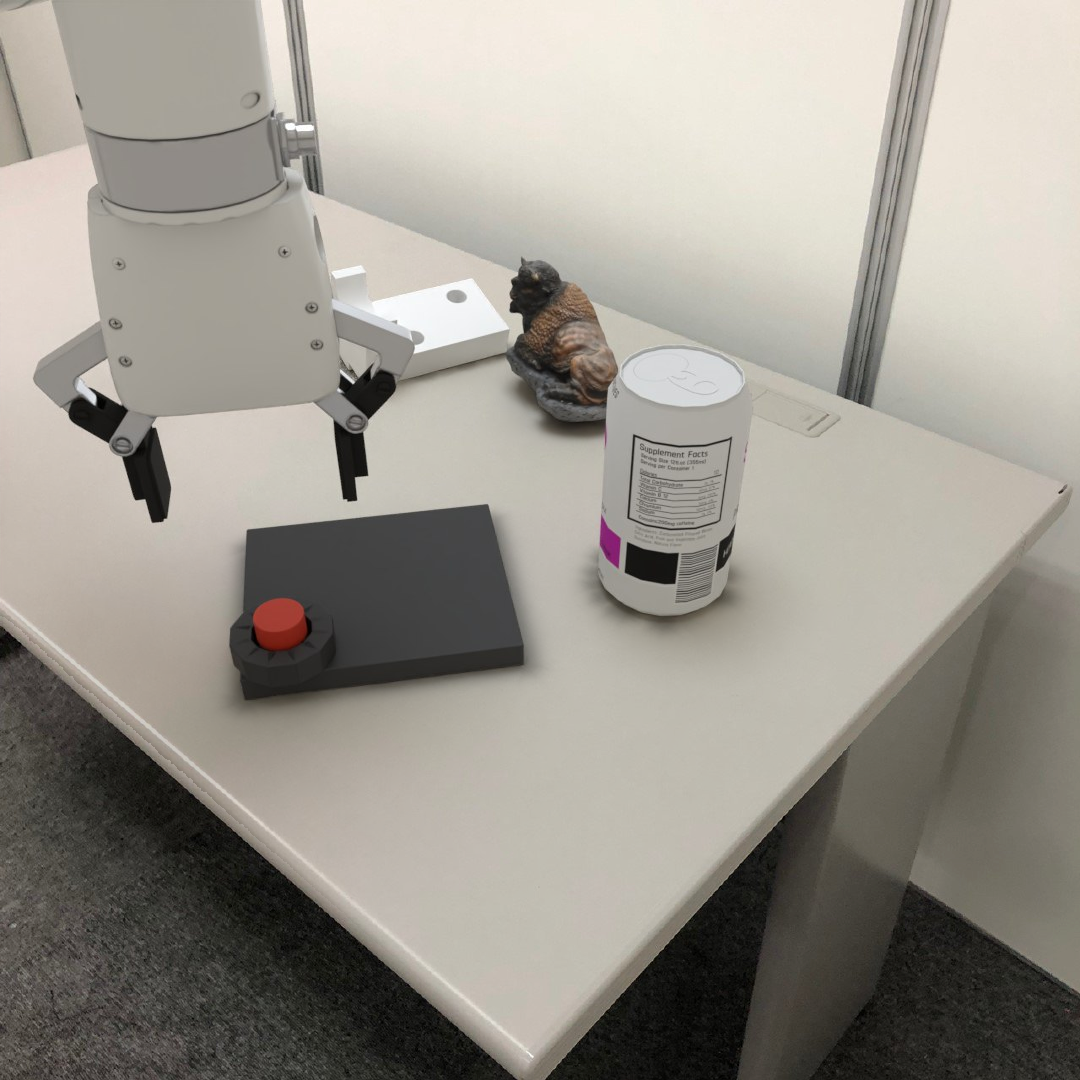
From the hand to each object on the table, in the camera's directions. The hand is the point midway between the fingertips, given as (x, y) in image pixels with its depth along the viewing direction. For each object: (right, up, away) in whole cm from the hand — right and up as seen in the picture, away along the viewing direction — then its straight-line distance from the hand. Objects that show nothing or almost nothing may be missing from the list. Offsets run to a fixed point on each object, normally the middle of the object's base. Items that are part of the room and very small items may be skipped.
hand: (256, 495), depth 55 cm
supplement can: (+22, -5, +14) cm, 27 cm away
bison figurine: (+16, +9, +32) cm, 37 cm away
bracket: (+5, +13, +37) cm, 40 cm away
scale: (+4, -6, +12) cm, 14 cm away
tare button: (0, -8, +6) cm, 10 cm away
